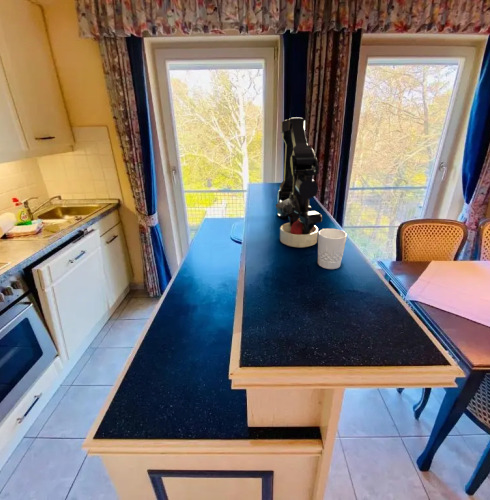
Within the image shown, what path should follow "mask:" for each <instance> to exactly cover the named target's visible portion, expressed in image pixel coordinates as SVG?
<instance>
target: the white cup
mask: <svg viewBox="0 0 490 500" xmlns="http://www.w3.org/2000/svg"><path fill="white" fill-rule="evenodd" d="M347 236H348V234H347V232H345V231H344V230H342V229H338V228H322V229H320V230H318V237H317V265H318V266H319V267H321V268H323V269H327V270H335V269H336V270H337V269H339V268H340V267H341V265H342V259H343V258H344V257H343V256H344V253H345V247H346V242H347Z"/></svg>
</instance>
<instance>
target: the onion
mask: <svg viewBox="0 0 490 500" xmlns="http://www.w3.org/2000/svg"><path fill="white" fill-rule="evenodd" d="M299 221H301V220H300V217H299V219H298V220H297V221H296V222H294V223H293V224H292V226H291V230H290V231H291V234H298V235H302V224H301V223H300V222H299Z"/></svg>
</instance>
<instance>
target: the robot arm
mask: <svg viewBox="0 0 490 500" xmlns="http://www.w3.org/2000/svg"><path fill="white" fill-rule="evenodd" d="M305 130H306V120H305V118H303V117H291V118H289V119H284V120H283V121H282V122H281V123H280V134H281V138H282V140H283V142H284V144H285V148H284V166H283V180H282V182H281V183H280V184H279V190H277V195H276V202H277V203H276V204H275V208H276V211H277V217H280V218H281V219H282V220H287V219H288V221H289V222H288V223H290V226H292V224H293V223H294V222H296V221H297V220H298V219H299V218H300V220H301V221H299V222H300V223H301V224H302V235H305V234H309V233H310V231H311V229H312V228H313V226H314V225H315V226H316V224H319V223H322V221H323V215H322V214H321V213H319V212H318V211H316V210H312V206H311V205H310V199H313V198H314V197H315V196H316V195H317V194H318V192H319V185H318V184H317V183H318V182H316V181H315V180H314V179H313V176H318V174H319V173H318V172H319V163H318V158H317V155H316V154H315V151H314V149H313V147H312V146H311V145H309V144H308V141H307V136H306V131H305Z"/></svg>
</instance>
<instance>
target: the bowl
mask: <svg viewBox="0 0 490 500" xmlns="http://www.w3.org/2000/svg"><path fill="white" fill-rule="evenodd" d="M290 230H291V226H290V222H286V223H283V224H282V225H280V227H279V241H280V242H281V243H282V244H284V245H286V246H287V247H292V248H308V247H311V246H314V245H316V244H318V236H319V228H318V226H317V225H316V224H315V225H314V226H313V228H312V229H311V231H310V233H309V234H305V235H298V234H291V231H290Z"/></svg>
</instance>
